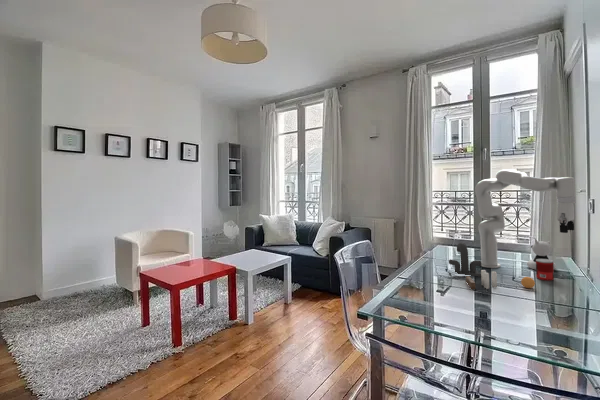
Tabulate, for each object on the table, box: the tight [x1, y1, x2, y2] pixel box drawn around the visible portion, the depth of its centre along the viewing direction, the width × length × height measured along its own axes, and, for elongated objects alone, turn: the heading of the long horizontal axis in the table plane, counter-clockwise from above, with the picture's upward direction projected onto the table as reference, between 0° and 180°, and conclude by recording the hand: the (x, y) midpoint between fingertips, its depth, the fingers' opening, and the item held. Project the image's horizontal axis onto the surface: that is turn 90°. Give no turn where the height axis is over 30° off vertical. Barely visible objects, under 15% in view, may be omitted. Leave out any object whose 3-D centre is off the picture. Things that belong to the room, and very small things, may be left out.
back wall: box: [465, 276, 476, 290], centre depth 168 cm, size 12×2×4 cm, turn 163°
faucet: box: [448, 241, 482, 278], centre depth 191 cm, size 18×16×20 cm
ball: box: [520, 276, 536, 289], centre depth 160 cm, size 6×6×6 cm
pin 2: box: [483, 272, 490, 290], centre depth 163 cm, size 2×2×8 cm
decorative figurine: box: [526, 238, 557, 271], centre depth 190 cm, size 15×15×20 cm
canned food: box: [535, 258, 555, 282], centre depth 172 cm, size 8×8×11 cm
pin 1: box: [480, 269, 487, 287], centre depth 168 cm, size 2×2×8 cm
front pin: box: [491, 270, 498, 288], centre depth 165 cm, size 2×2×8 cm
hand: (567, 231), depth 159 cm, fingers open, 9 cm apart
